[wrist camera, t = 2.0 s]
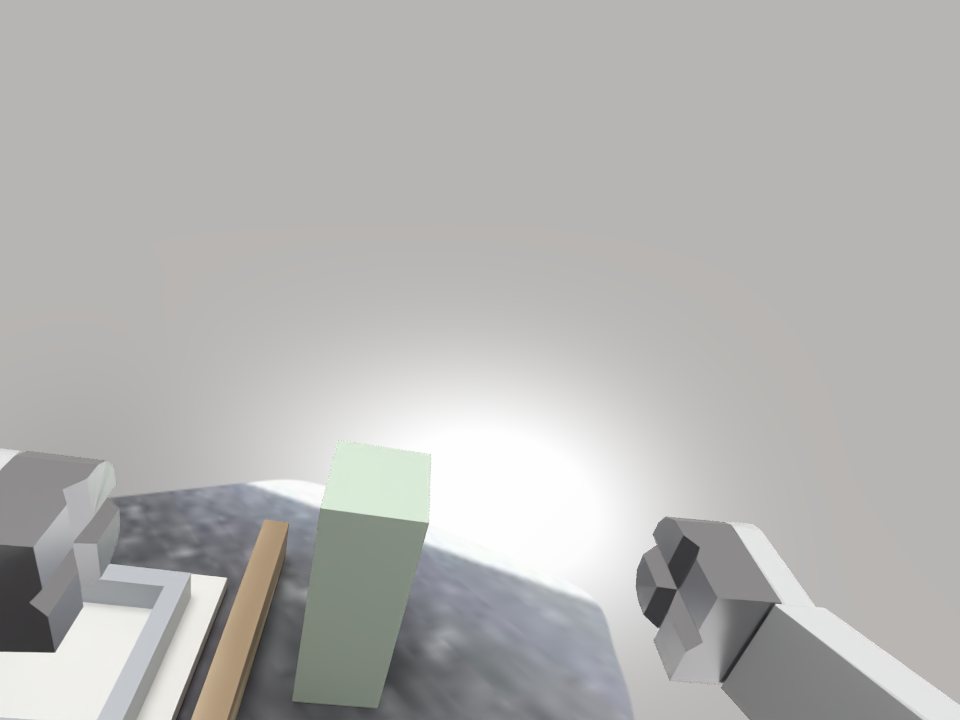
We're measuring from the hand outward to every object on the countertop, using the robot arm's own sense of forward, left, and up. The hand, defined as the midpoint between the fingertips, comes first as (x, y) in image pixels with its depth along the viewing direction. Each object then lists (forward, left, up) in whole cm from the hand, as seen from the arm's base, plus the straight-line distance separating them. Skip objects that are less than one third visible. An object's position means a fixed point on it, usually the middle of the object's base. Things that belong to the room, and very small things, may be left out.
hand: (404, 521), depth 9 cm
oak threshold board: (-5, +13, -25) cm, 29 cm away
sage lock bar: (0, +14, -25) cm, 29 cm away
